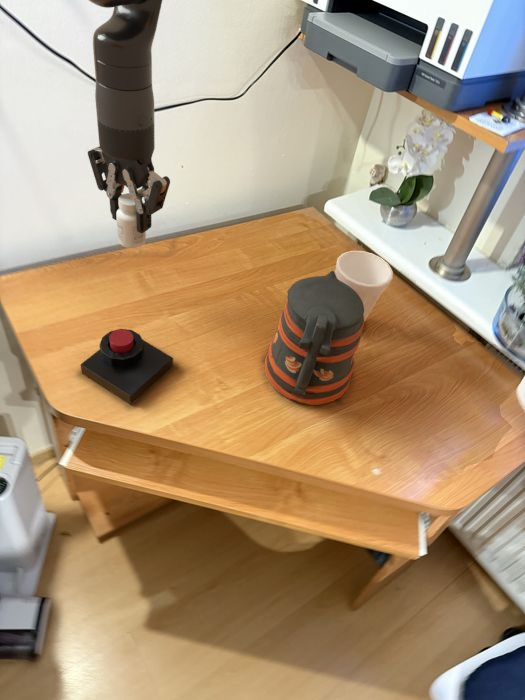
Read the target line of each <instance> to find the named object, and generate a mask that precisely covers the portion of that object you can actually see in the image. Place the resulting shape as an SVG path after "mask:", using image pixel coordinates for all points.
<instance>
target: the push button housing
mask: <svg viewBox="0 0 525 700" xmlns="http://www.w3.org/2000/svg"><path fill="white" fill-rule="evenodd" d="M121 329H123V330H127V331H130V332H131V333H132V335H133V341H134V346H133V348H132V350H131V351H129V352H127V353H123V354H121V353H116V352H114V351H112V349H111V348H110V341H109V337H110V335H111V333H112V332H114V331H116V330H121ZM173 366H174V358H173V356H171V355H169V354H167V353H166V352H164V351H163V350H161V349H160V348H158V347H156V346H154V345H152V344H151V343H149V342H147V341H146V340H144V339H143V338H142V336H141V335H140V333H138V332H136V331H134V330H133V329H127V328H119V329H114V330H110V331H108V332H107V333H106V334H104V335H103V336H102V337H101V340H100V342H99V349H98V350H97V351H96V352H95V353H93V354H92V355H91V356H90V357H87V358H86V359H85V360H84V361H83V362H81V363H80V369H81V374H82V375H83V376H85V377H87V378H88V379H90V380H91V381H93V382H95V383H96V384H97V385H99V386H100V387H102V388H104V389H105V390H107V391H108V392H110V393H111V394H113V395H114V396H116V397H118V398H119V399H121V400H122V401H124V402H125V403H127V404H129V406H131V405H133V404H134V403H135V402H136V401H137V400H138V399H139V398H140V397H142V395H144V394H145V393H146V392H147V391H148V390H149V389H150V388H151V387H152V386H153V385H155V384H156V383H157V382H158V381H159V380H160V379H161V378H162V377H163V376H165V374H166V373H168V372H169V371H170V370H171V369H172V368H173Z"/></svg>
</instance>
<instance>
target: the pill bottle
mask: <svg viewBox="0 0 525 700" xmlns="http://www.w3.org/2000/svg"><path fill="white" fill-rule="evenodd" d="M121 194H122V195H121V196H120V197H119V199H118V200H119V209H118V210H117V212H116V218H117V221H116V228H117V229H116V231H117V241H118V243H119V244H120V246H122V247H124V248H126V249H138V248H141V247H143V246H144V245H145V244H146V241H147V235H146V234H147V231H145V232H144V233H140V232H138V231H137V217H136V212H137V209H136V205H135V201H134V199H132V198H131V197H130V193H129V192H128V193H127V192H126V193H121Z"/></svg>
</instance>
